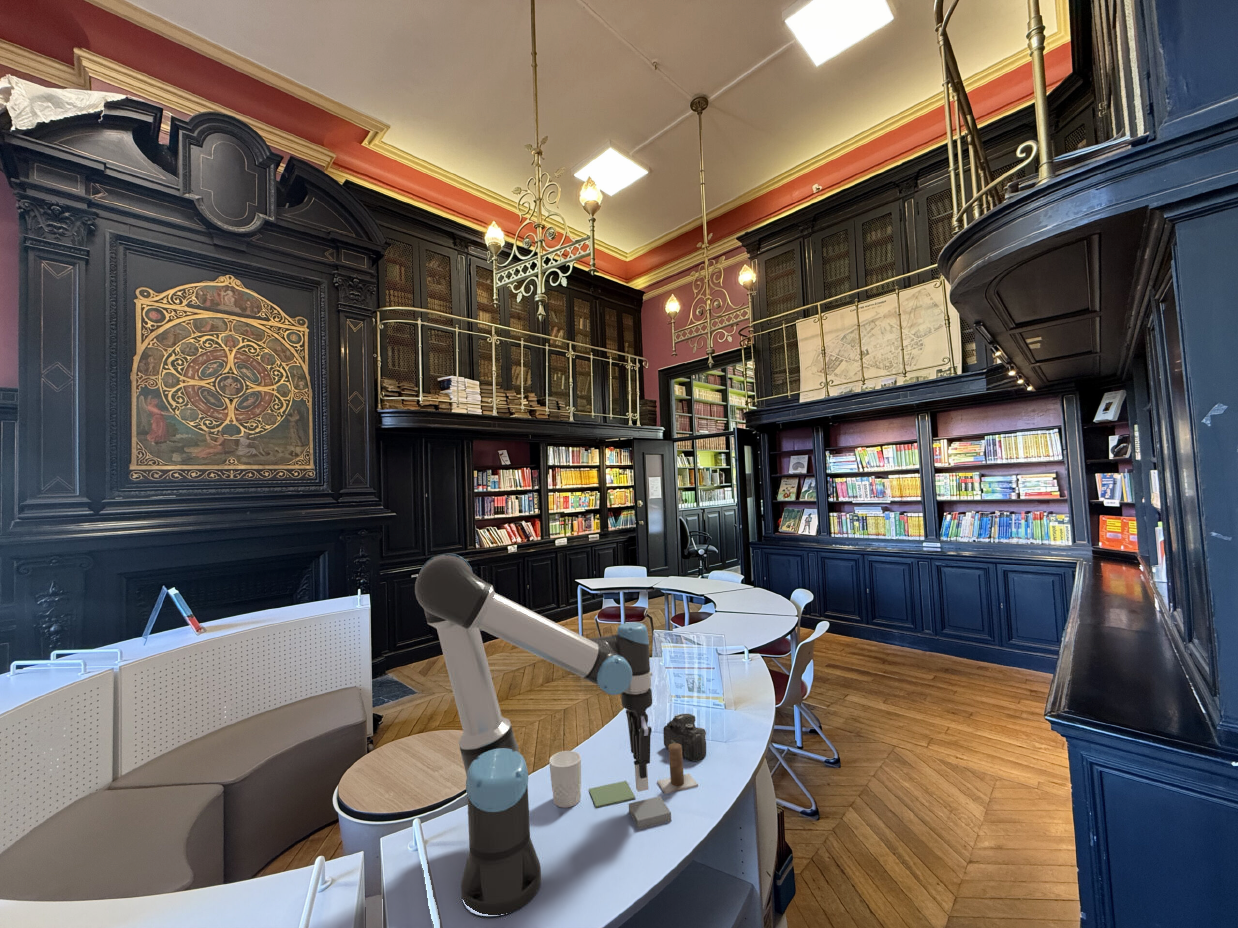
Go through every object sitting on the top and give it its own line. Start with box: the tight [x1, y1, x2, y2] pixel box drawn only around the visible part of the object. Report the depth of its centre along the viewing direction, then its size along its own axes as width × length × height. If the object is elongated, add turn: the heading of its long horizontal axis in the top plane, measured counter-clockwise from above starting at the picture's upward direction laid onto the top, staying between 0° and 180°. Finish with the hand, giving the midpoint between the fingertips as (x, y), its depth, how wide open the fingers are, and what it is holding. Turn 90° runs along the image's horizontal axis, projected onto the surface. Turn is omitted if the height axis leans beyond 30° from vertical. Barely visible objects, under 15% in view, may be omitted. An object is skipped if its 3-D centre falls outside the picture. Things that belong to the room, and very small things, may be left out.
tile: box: [628, 795, 672, 830], centre depth 118 cm, size 8×2×7 cm
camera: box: [662, 713, 707, 762], centre depth 148 cm, size 13×10×10 cm
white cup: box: [548, 750, 582, 809], centre depth 127 cm, size 8×8×10 cm
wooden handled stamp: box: [657, 743, 699, 795], centre depth 131 cm, size 9×6×10 cm, turn 106°
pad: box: [588, 780, 636, 809], centre depth 128 cm, size 10×8×1 cm
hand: (642, 788), depth 123 cm, fingers closed
